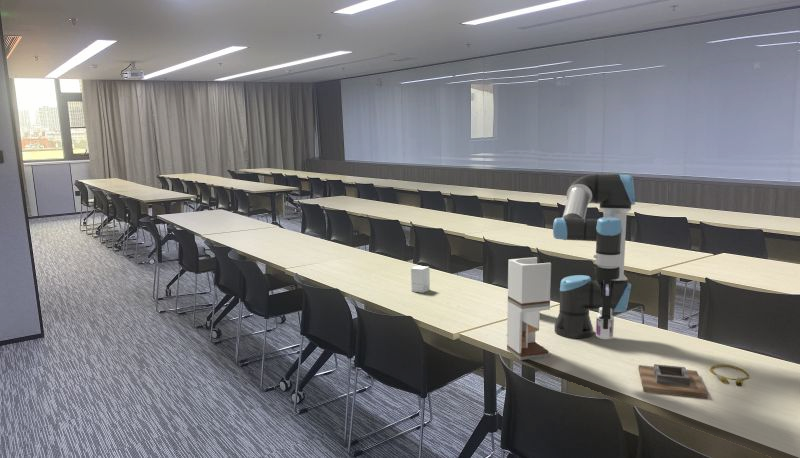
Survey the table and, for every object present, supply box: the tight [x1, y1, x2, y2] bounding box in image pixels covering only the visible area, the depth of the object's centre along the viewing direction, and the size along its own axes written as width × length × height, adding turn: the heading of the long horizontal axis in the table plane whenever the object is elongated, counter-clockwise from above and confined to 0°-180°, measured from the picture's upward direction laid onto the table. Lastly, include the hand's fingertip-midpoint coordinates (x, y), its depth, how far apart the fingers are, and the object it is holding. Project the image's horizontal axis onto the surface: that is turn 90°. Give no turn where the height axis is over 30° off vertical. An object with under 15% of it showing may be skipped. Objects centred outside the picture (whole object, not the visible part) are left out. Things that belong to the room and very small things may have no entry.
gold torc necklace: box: [709, 364, 750, 387], centre depth 191 cm, size 12×16×2 cm
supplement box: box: [410, 265, 431, 294], centre depth 300 cm, size 7×7×13 cm
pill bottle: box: [595, 307, 615, 340], centre depth 187 cm, size 5×5×10 cm
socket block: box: [638, 363, 708, 399], centre depth 186 cm, size 18×18×4 cm
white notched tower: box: [506, 256, 552, 361], centre depth 210 cm, size 11×11×35 cm
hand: (604, 334), depth 188 cm, fingers closed on pill bottle, 5 cm apart
